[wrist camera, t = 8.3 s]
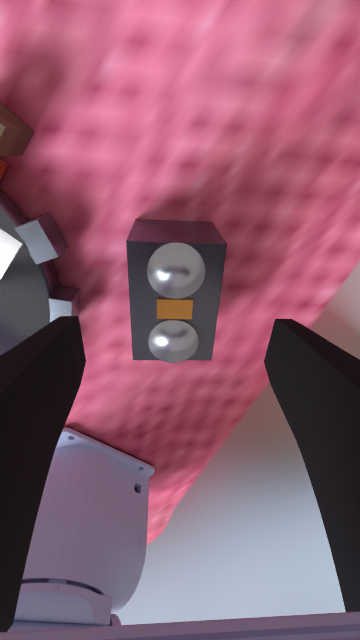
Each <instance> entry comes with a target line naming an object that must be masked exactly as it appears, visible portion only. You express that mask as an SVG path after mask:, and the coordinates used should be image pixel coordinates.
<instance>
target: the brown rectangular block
mask: <svg viewBox="0 0 360 640" xmlns="http://www.w3.org/2000/svg"><path fill="white" fill-rule="evenodd" d="M33 133H34V131H33V130H32V129H31V128H30V127H28V126H27V125H26V124H25V123H24V122H23V121H22V120H20V119H19V118H18V117H17V116H16V115H15V114H13V113H12V112H11V111H10V110H9V109H8V108H7V107H5V106H4V105H3V104H2V103H1V102H0V156H9V155H22V153H23V151H24V149H25V147H26V146H27V144H28V142H29V140H30V138H31V137H32V135H33Z"/></svg>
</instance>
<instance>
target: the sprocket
mask: <svg viewBox="0 0 360 640" xmlns="http://www.w3.org/2000/svg"><path fill="white" fill-rule="evenodd" d="M7 167H8V164H6V163H5V162H4V161H2V160H1V159H0V180H1V178H2V176H3V175H4V173H5V171H6V169H7ZM67 248H68V245H67V244H66V242H65V240H64V238H63V236H62V235H61V233H60V231H59V229H58V227H57V225H56V224H55V222H54V220H53V218H52V216H51V214H50V213H48V214H45V215H42V216H40V217H37V218H34V219H32V220H28V219H27V218H26V216H25V215H24V214H23V213H22V212H21V210H20V209H19V208H18V207H17V206H16V204H15V203H14V202H13V201H12V200H11V199H10V198H9V197H8V196H7V195H6V194H5V193H4V192H3V191H2V190H1V189H0V355H2V354H3V353H5V352H7V351H8V350H10V349H12V348H13V347H15V346H16V345H18V344H19V343H21V342H22V341H24V340H25V339H27V338H28V337H30V336H31V335H33V334H34V333H36V332H37V331H38V330H40V329H41V328H43V327H44V326H46V325H47V324H49V323H50V322H52V321H53V320H55V319H56V318H58V317H60V316H79V290H80V289H76V288H69V287H63V286H58V281H57V277H56V273H55V269H54V267H53V264H52V261H51V259H54V258H56V257H59V256H60V255H61V254H62V253H63V252H64V251H65V250H66V249H67Z"/></svg>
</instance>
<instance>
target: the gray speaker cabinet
mask: <svg viewBox="0 0 360 640" xmlns="http://www.w3.org/2000/svg"><path fill="white" fill-rule="evenodd" d="M126 242H127V260H128V278H129V296H130V314H131V332H132V350H133V360H162V361H165V362H170V363H175V362H181V361H184V360H212V353H213V345H214V338H215V330H216V322H217V315H218V307H219V300H220V292H221V285H222V277H223V270H224V262H225V255H226V247H227V243H226V242H225V240H224V239H223V237H222V236H221V235H220V233H219V232H218V230H217V229H216V227H215V226H214V224H213V223H212V222H194V221H166V220H138V219H135V221H134V224H133V226H132V229H131V231H130V234H129V236H128V238H127V241H126Z"/></svg>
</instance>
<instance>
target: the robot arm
mask: <svg viewBox="0 0 360 640" xmlns="http://www.w3.org/2000/svg"><path fill="white" fill-rule="evenodd" d="M85 363H86V359H85V353H84V347H83V341H82V335H81V330H80V324H79V318H78V316H60V317H58V318H56V319H55V320H53V321H52V322H50V323H49V324H47V325H46V326H44V327H43V328H41V329H40V330H38V331H37V332H36V333H34V334H33V335H31V336H30V337H28V338H27V339H25V340H24V341H22V342H21V343H19V344H18V345H16V346H15V347H13V348H12V349H10V350H8V351H7V352H5V353H3V354H2V355H0V640H360V360H359V359H358V358H356V357H354V356H352V355H351V354H349V353H347V352H346V351H344V350H342V349H341V348H339V347H337V346H336V345H334V344H332V343H331V342H329V341H327V340H326V339H324V338H323V337H321V336H319V335H318V334H316V333H315V332H313V331H311V330H310V329H308V328H307V327H305V326H303V325H302V324H300V323H298V322H296V321H294V320H292V319H275V322H274V326H273V330H272V333H271V337H270V341H269V345H268V349H267V352H266V356H265V360H264V363H265V366H266V370H267V374H268V377H269V380H270V383H271V386H272V388H273V391H274V393H275V395H276V397H277V399H278V402H279V404H280V406H281V408H282V410H283V413H284V415H285V417H286V419H287V421H288V423H289V426H290V428H291V430H292V432H293V434H294V436H295V438H296V441H297V444H298V446H299V448H300V451H301V454H302V457H303V460H304V463H305V466H306V468H307V471H308V474H309V477H310V480H311V484H312V487H313V490H314V493H315V496H316V499H317V503H318V506H319V509H320V513H321V516H322V520H323V523H324V527H325V530H326V534H327V537H328V541H329V544H330V548H331V552H332V556H333V560H334V564H335V568H336V572H337V576H338V580H339V584H340V588H341V592H342V597H343V601H344V606H345V610H346V612H345V613H327V614H311V615H293V616H276V617H260V618H259V617H258V618H243V619H242V618H241V619H224V620H207V621H189V622H173V623H154V624H137V625H121V622H120V620H119V618H118V616H117V615H116V614H111V612H114V611H118V610H119V609H121V608H122V607H123V606H124V605H125V604H126V603H127V602H128V601H129V600H130V598H131V596H132V595H133V594H134V592H135V590H136V587H137V585H138V583H139V580H140V577H141V573H142V569H143V566H144V561H145V554H146V541H147V518H148V495H149V477H150V476H152V475H153V474H154V473H155V468H154V467H153V466H151V465H149V464H147V463H145V462H142V461H140V460H138V459H136V458H134V457H132V456H129V455H127V454H125V453H123V452H121V451H118V450H116V449H114V448H112V447H110V446H108V445H105V444H103V443H101V442H99V441H97V440H94V439H92V438H90V437H88V436H86V435H84V434H81V433H79V432H77V431H75V430H73V429H70V428H64V425H65V423H66V420H67V418H68V415H69V413H70V410H71V407H72V405H73V402H74V400H75V397H76V395H77V392H78V389H79V387H80V384H81V380H82V376H83V371H84V367H85Z"/></svg>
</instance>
